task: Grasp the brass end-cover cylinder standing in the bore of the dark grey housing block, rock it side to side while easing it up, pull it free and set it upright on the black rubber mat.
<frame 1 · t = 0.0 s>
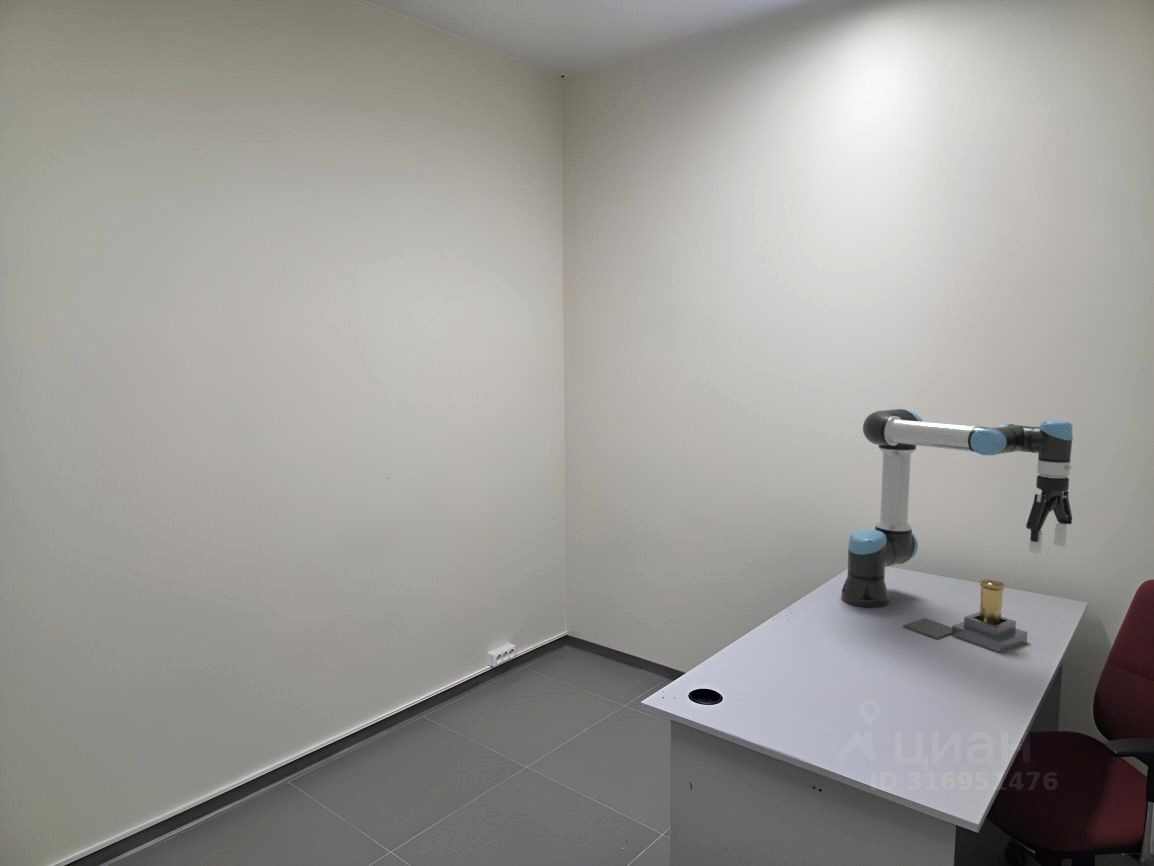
hand: (1047, 549, 197), 28 cm above the table, fingers open, 13 cm apart
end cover: (989, 628, 203), point 3 cm above the table, touching housing
housing: (988, 638, 203), on the table
mat: (930, 629, 210), on the table
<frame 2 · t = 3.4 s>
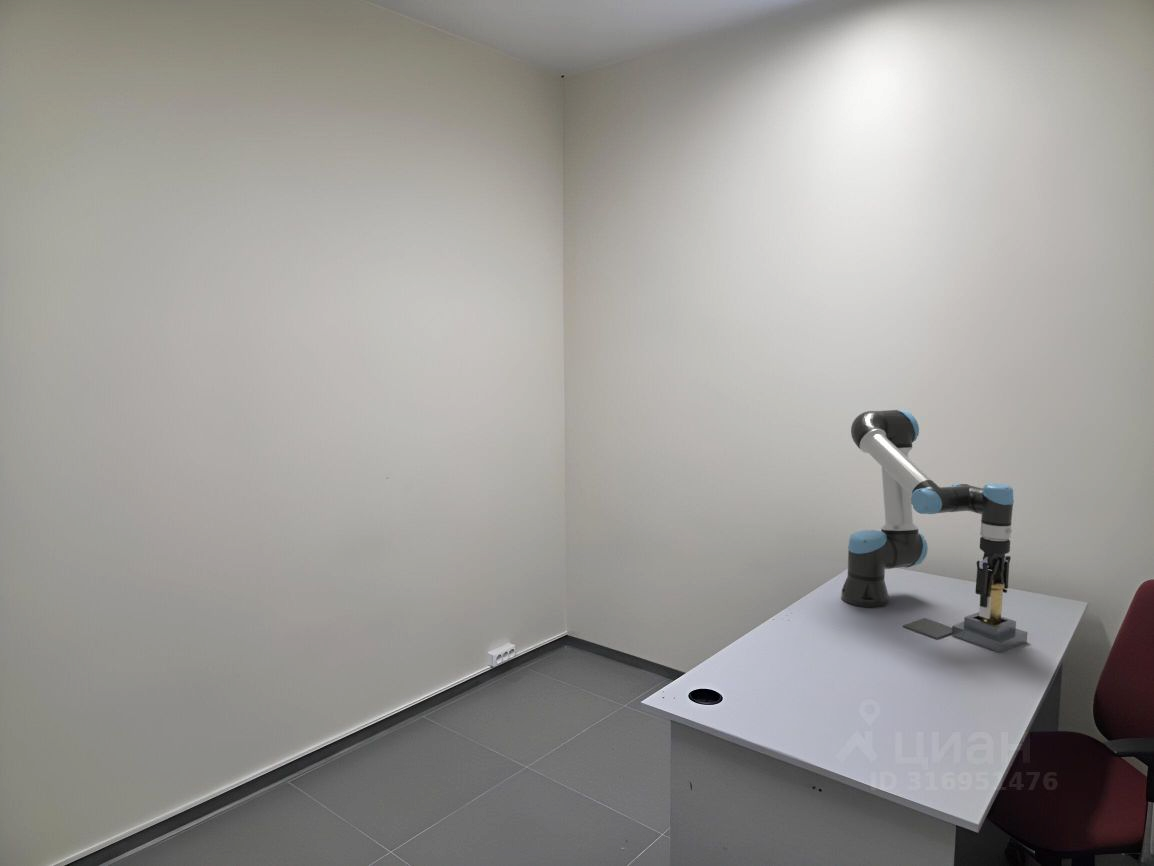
hand: (990, 614, 202), 7 cm above the table, fingers closed on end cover, 5 cm apart
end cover: (989, 628, 203), point 3 cm above the table, touching gripper, housing
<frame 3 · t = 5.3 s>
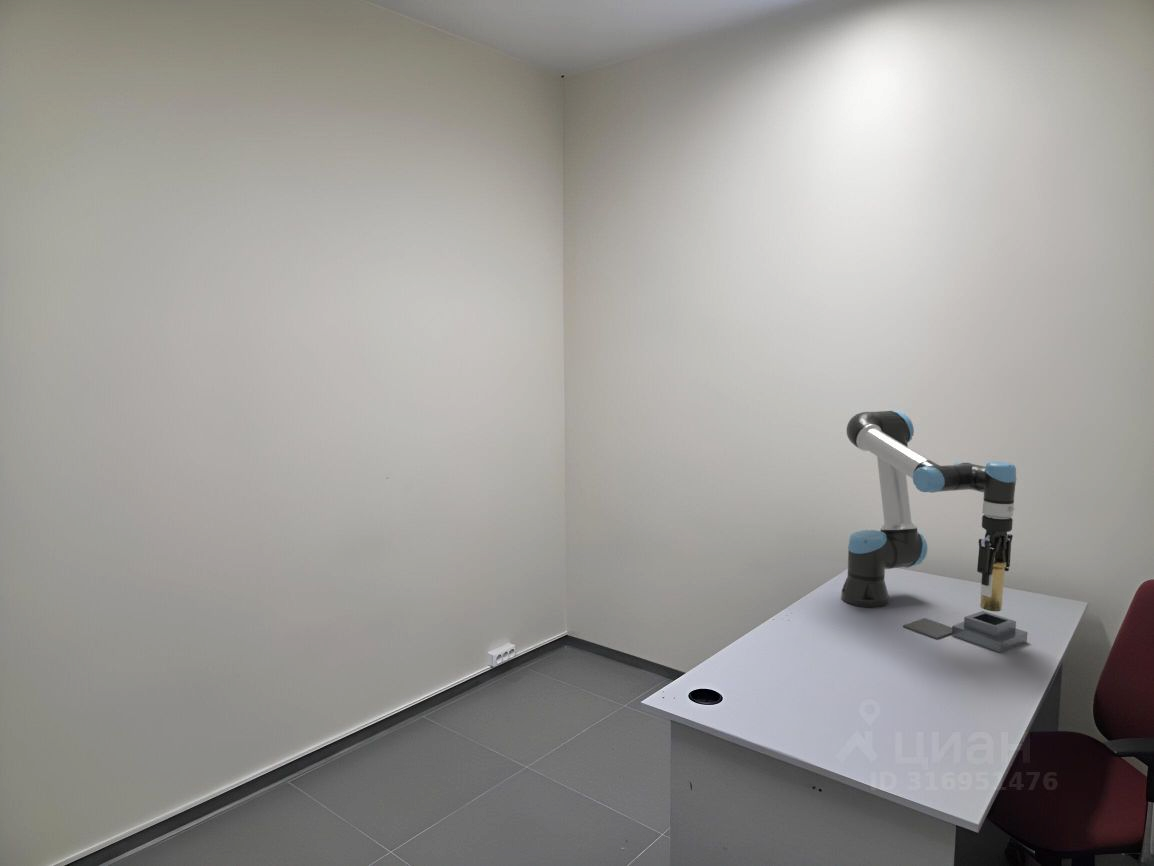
hand: (991, 593, 202), 14 cm above the table, fingers closed on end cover, 5 cm apart
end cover: (990, 607, 202), point 9 cm above the table, touching gripper
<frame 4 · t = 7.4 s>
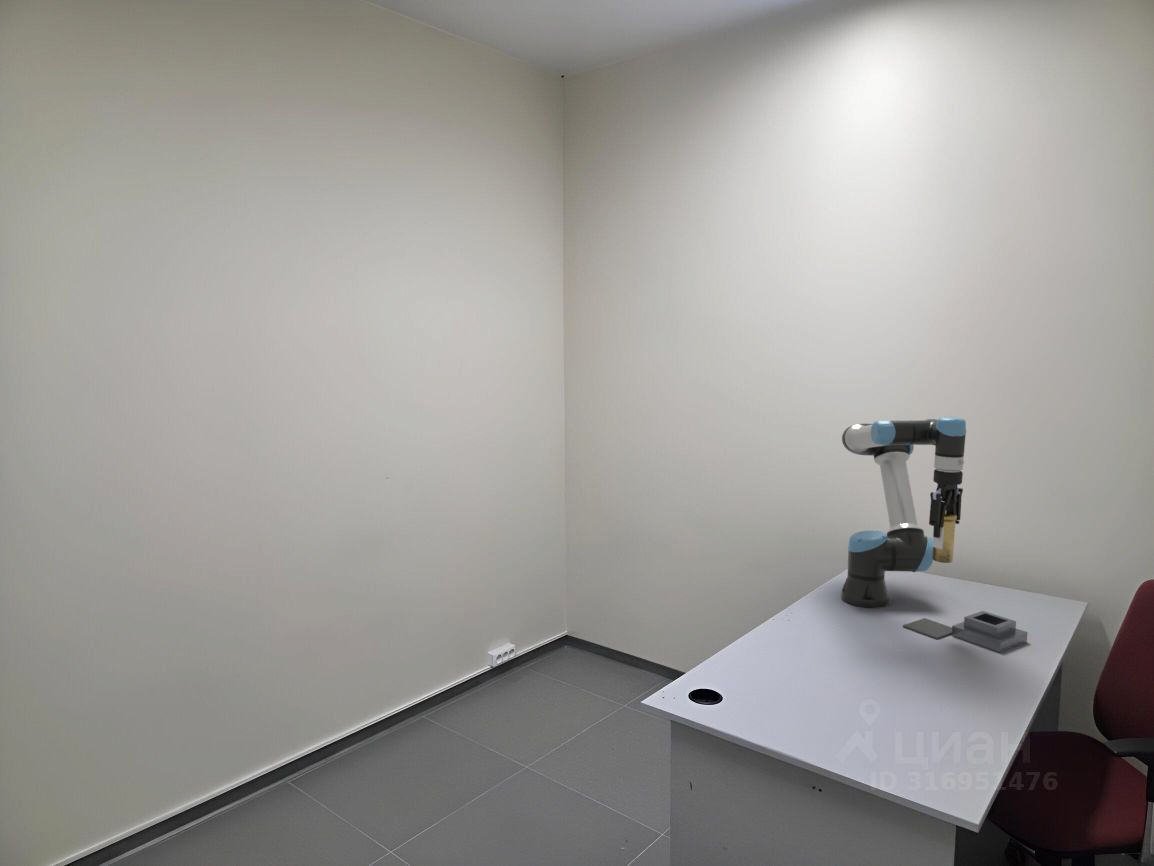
hand: (943, 545, 207), 26 cm above the table, fingers closed on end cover, 5 cm apart
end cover: (942, 560, 207), point 22 cm above the table, touching gripper
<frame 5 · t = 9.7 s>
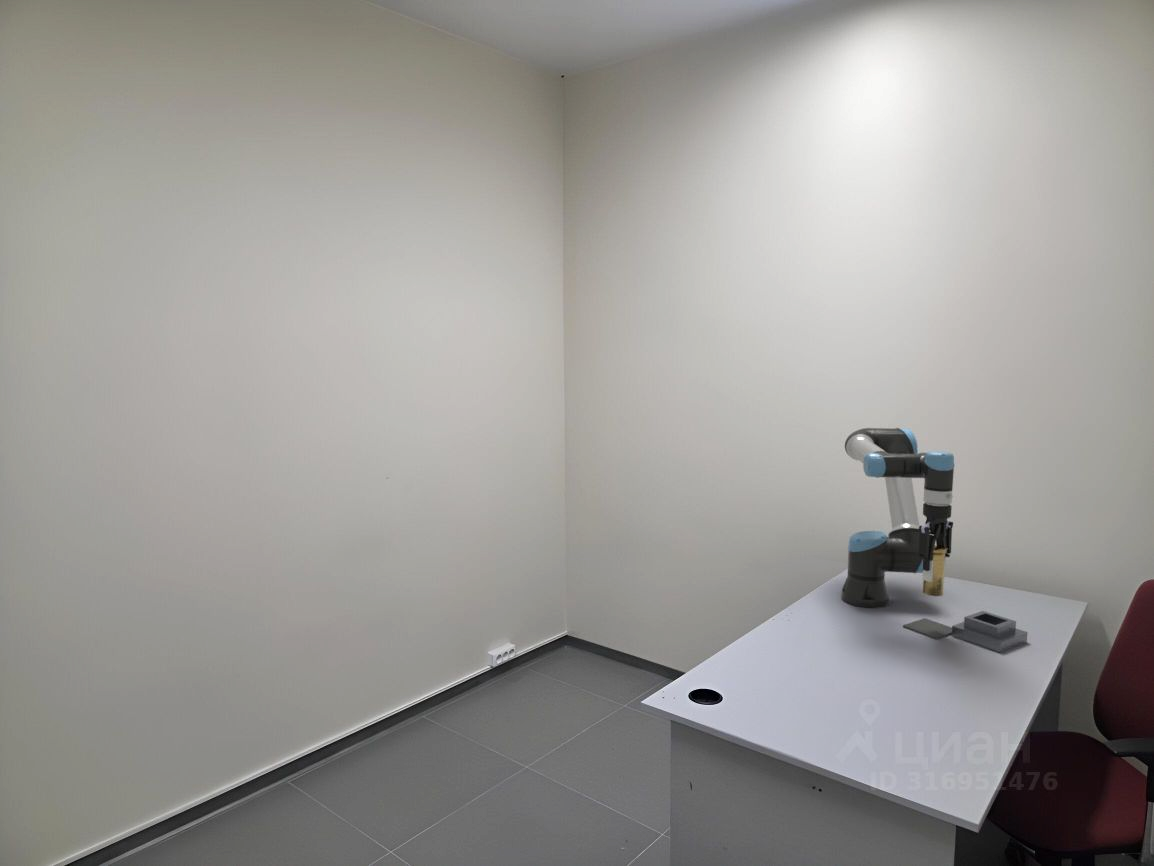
hand: (933, 578, 208), 16 cm above the table, fingers closed on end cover, 5 cm apart
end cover: (932, 593, 209), point 12 cm above the table, touching gripper
when the fingers open (6 cm above the table, at t = 11.8 s): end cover drops 1 cm, resting on mat.
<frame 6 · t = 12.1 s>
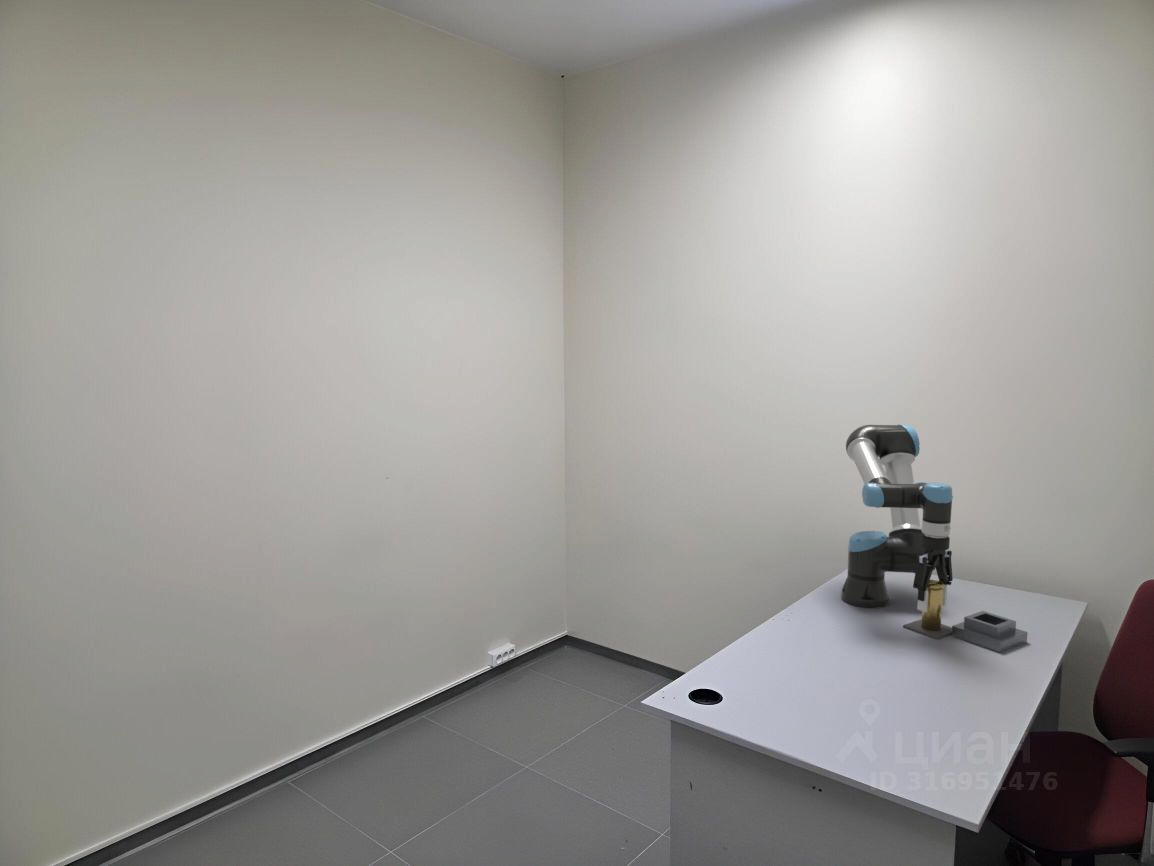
hand: (931, 607, 209), 7 cm above the table, fingers open, 9 cm apart
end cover: (930, 627, 210), point 1 cm above the table, touching mat
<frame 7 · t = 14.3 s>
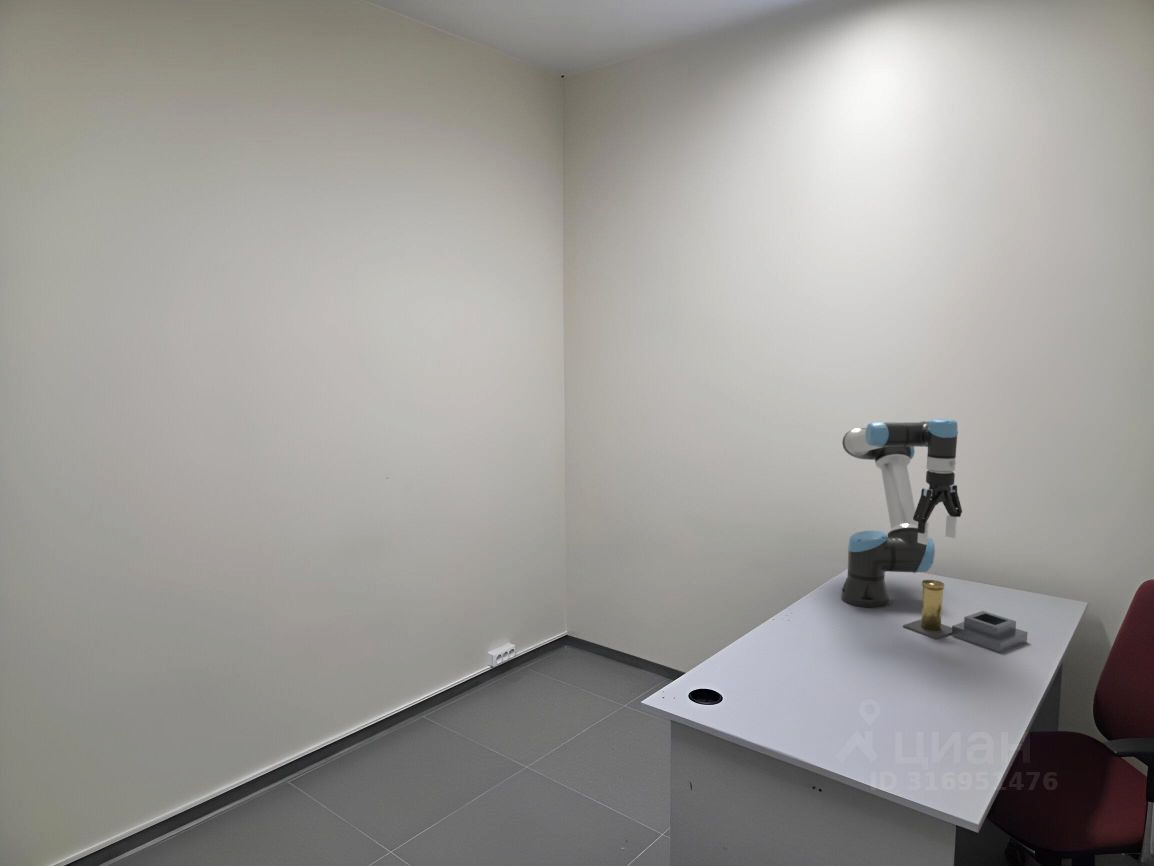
hand: (936, 540, 209), 27 cm above the table, fingers open, 13 cm apart
nothing on the table moved.
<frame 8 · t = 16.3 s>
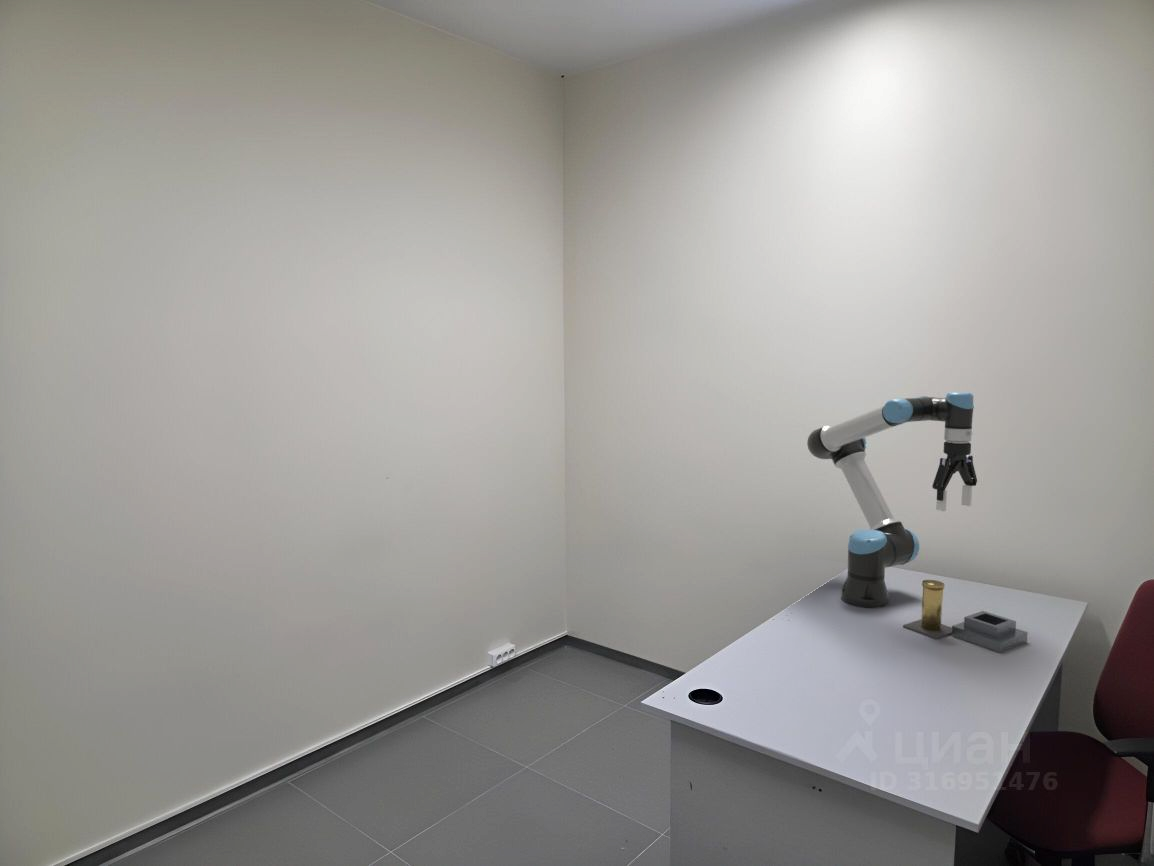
hand: (953, 508, 219), 35 cm above the table, fingers open, 13 cm apart
nothing on the table moved.
at the end: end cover inside the target area on the mat (0.1 cm from its centre), point 0.6 cm above the mat's base; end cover tilted 1°; the gripper is holding nothing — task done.
